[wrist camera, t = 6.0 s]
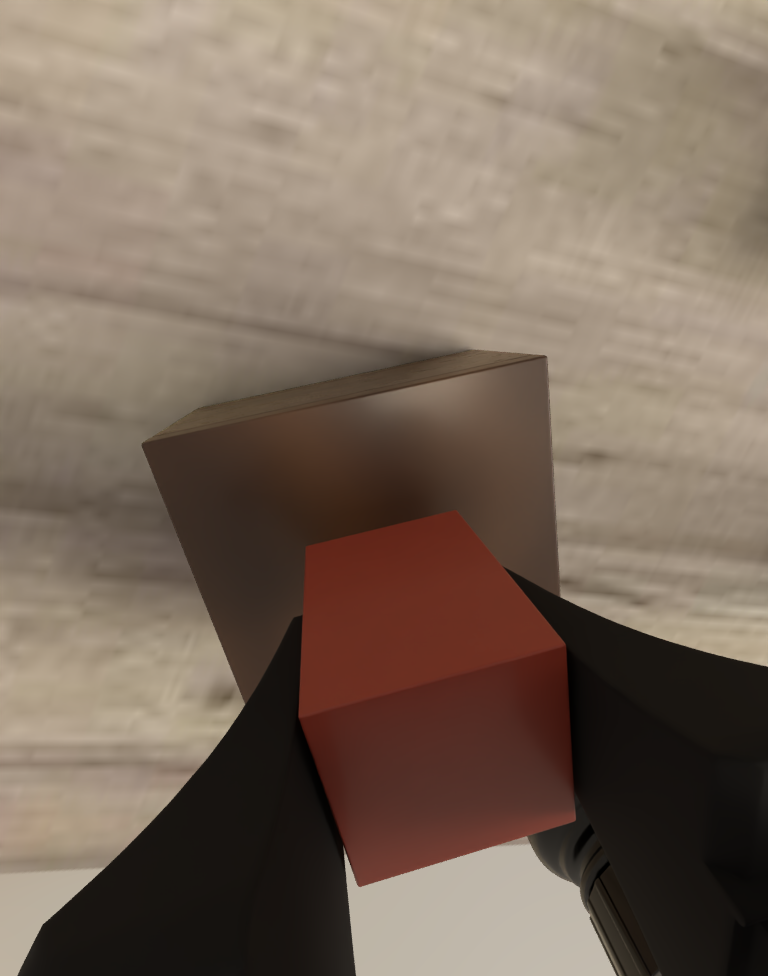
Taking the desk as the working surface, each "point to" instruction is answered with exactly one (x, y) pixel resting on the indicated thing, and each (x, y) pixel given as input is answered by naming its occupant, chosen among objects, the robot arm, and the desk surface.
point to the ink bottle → (596, 891)
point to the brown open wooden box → (355, 481)
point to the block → (430, 697)
